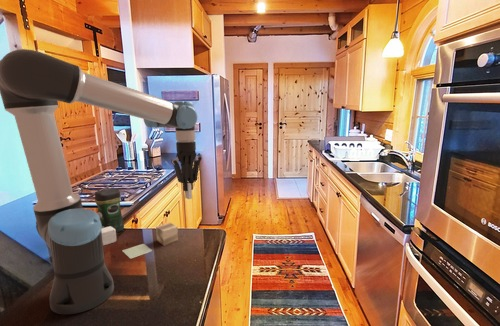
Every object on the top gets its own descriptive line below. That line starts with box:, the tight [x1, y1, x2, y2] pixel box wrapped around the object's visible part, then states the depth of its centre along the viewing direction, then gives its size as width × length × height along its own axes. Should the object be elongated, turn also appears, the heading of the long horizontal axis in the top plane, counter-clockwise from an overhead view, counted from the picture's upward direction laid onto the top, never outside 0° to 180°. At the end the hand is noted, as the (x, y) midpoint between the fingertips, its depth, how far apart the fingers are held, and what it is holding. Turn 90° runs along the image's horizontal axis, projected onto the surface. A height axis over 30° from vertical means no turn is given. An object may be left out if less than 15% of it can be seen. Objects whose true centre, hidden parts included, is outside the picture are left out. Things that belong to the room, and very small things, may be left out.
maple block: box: [155, 222, 179, 247], centre depth 109 cm, size 6×6×6 cm
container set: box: [101, 226, 117, 246], centre depth 103 cm, size 20×5×6 cm, turn 137°
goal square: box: [121, 243, 153, 260], centre depth 102 cm, size 8×8×1 cm
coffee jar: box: [94, 187, 125, 233], centre depth 117 cm, size 10×8×19 cm
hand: (188, 198), depth 114 cm, fingers closed
